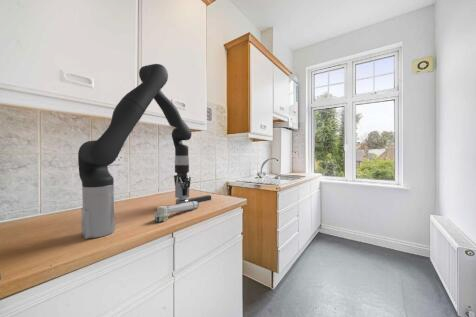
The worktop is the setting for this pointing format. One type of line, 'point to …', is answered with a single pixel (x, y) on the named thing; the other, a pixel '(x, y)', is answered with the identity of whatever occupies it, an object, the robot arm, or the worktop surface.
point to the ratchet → (193, 199)
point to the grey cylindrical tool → (173, 210)
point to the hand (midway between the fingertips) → (182, 194)
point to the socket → (180, 191)
